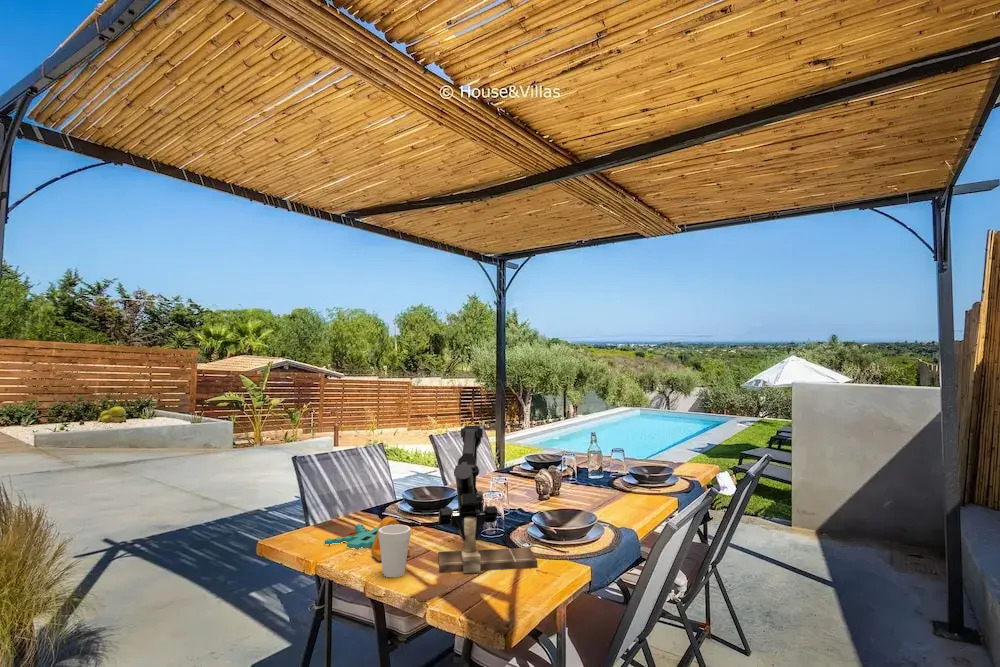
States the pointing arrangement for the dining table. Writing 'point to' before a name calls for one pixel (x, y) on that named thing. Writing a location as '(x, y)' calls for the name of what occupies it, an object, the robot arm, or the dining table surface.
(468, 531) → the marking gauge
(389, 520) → the bracket
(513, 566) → the walnut board
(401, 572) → the foam cup
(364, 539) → the alien figure
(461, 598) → the dining table surface
